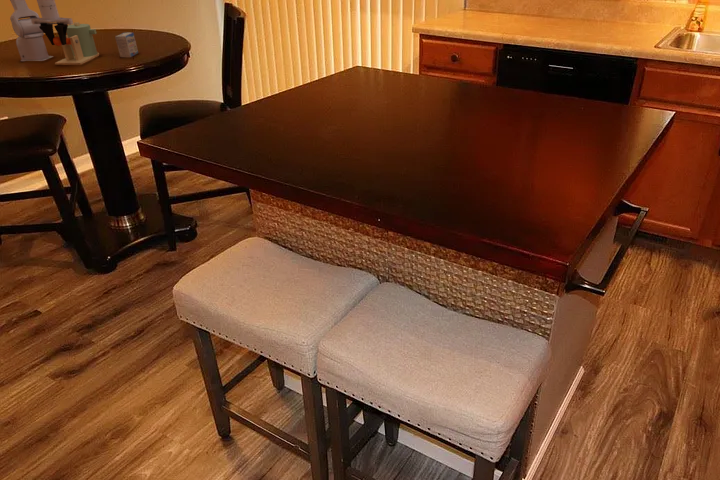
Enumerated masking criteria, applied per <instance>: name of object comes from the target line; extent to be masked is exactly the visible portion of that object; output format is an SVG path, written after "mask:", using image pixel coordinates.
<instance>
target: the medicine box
mask: <svg viewBox="0 0 720 480" xmlns="http://www.w3.org/2000/svg"><path fill="white" fill-rule="evenodd" d="M114 37H115V42H116V46H117V49H118V54H119V57H120V58H133V57H135V56H136V55H137V54H139V50H138V46H137V42H136V38H135V33H134V32H127V31H126V32H122V33H119V34H118V35H115V36H114Z"/></svg>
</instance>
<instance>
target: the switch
mask: <svg viewBox="0 0 720 480" xmlns="http://www.w3.org/2000/svg"><path fill="white" fill-rule="evenodd" d="M53 43H54V44H55V45H54V46H56V47H62V44H61V41H60V38H59V36H55V37H54V38H53ZM66 45H72V44H71V41H70V38H66Z"/></svg>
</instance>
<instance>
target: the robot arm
mask: <svg viewBox="0 0 720 480" xmlns="http://www.w3.org/2000/svg"><path fill="white" fill-rule="evenodd" d="M9 1H10V4H11V6H12V8H13V12H12V14H11V15H10V17H9V20H10V22H11V27H12V30H13V32H14V33H15V35H16V36H18V37H17V38H16V39H15V45H16V48H17V51H18V55H19V57H20V62H44V61H47V60H49V59H51V58H54V56H53V55H49V53H48V50H47V46H46V43H45V39H44V36H46V37H47V40H48V41H49V43H50V44H51V45H52V46H56V45H55V44H54V43H53V38H54V37H56V35H55V34H54V33H55V32H54V29H55V30H56V33H57V35H58V37H59V38H60V41H61V44H62V45H66V35H67V28H68V25H73V24H74V21H73V18H72V17H70V18H69V17H60V14H59V10H58V7H57V4H56V0H36V3H37V5H38V9H39V13H40V14H38V12H37V11H35V10H33V9H31V8H29V6H28V4H27V1H26V0H9ZM40 16H41V17H40Z"/></svg>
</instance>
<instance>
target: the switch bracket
mask: <svg viewBox="0 0 720 480" xmlns="http://www.w3.org/2000/svg"><path fill="white" fill-rule="evenodd" d="M66 38H68V36H67V34H66ZM70 41H71V44H72V48H73V51H74V55H75V57H74V56H73V52H72V49H71V46H70V45H62V46H61V48H62V51H63V55H64V57H65V58H62V59H60V60H58V61H56V62H54V65H55V66H57V65H58V66H59V65H60V66H61V65H66V66H68V65H69V66H70V65H71V66H72V65H74V66H75V65H77V66H78V65H79V66H81V65H84V64H85V63H87V62H89V61H92V60H94V59H95V58H96V57H95V56H87V57H84V56H83V53H82V49H81V46H80V42H79V39H78V35H75V36H72V37H70Z"/></svg>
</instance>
